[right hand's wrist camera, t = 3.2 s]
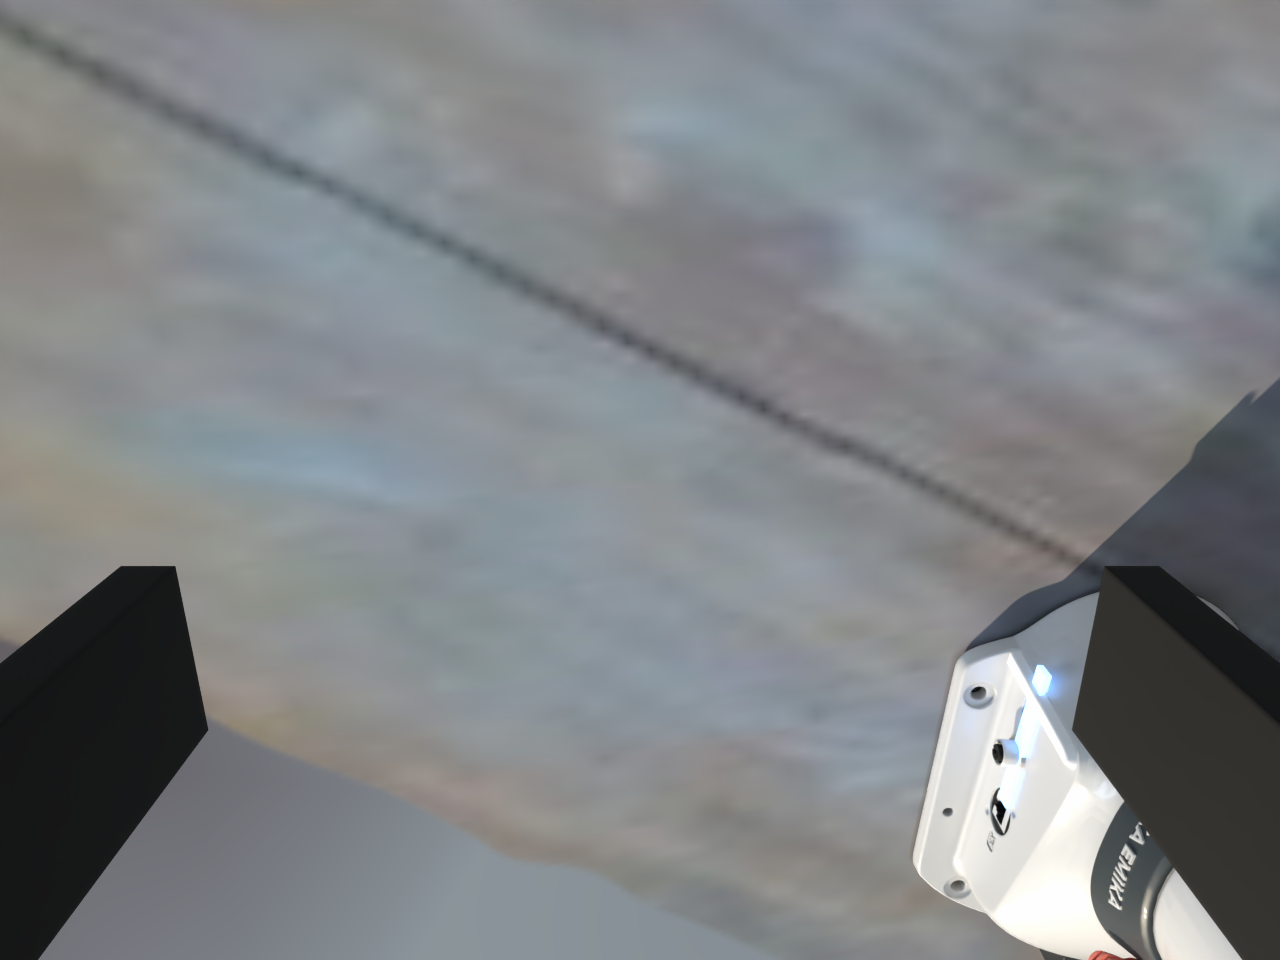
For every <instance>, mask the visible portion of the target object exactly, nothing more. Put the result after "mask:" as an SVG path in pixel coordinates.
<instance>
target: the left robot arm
mask: <svg viewBox="0 0 1280 960" xmlns="http://www.w3.org/2000/svg"><path fill="white" fill-rule="evenodd" d="M1195 596H1196V595H1195ZM1098 597H1099V592H1096V593H1093V594H1090V595H1087V596H1084V597H1082V598H1079V599H1077V600H1074V601H1072V602H1070V603H1068V604H1066V605H1064V606H1062V607H1060V608H1058V609H1056V610H1055V611H1053V612H1051V613H1050V614H1048V615H1047V616H1045V617H1044V618H1042V619H1041V620H1039V621H1038V622H1036V623H1035V624H1033V625H1032V626H1030V627H1029V628H1027V629H1026V630H1024V631H1022V632H1020V633H1018V634H1016V635H1014V636H1012V637H1008V638H1004V639H1000V640H996V641H993V642H989V643H986V644H983V645H979V646H977V647H974V648H972V649H970V650H968V651H967V652H965V653H964V654H963V655H961V657H960V658H959V659H958V661H957V663H956V665H955V669H954V673H953V677H952V682H951V686H950V691H949V695H948V700H947V704H946V709H945V713H944V717H943V722H942V726H941V731H940V735H939V740H938V744H937V749H936V753H935V758H934V762H933V767H932V771H931V775H930V780H929V784H928V789H927V793H926V798H925V802H924V807H923V811H922V816H921V820H920V825H919V829H918V834H917V838H916V843H915V847H914V852H913V863H914V865H915V867H916V869H917V871H918V873H919V874H920V876H921V877H922V878H923V879H924V880H925V881H926V882H927V883H928V884H929V885H930V886H932V887H933V888H934V889H935V890H937V891H938V892H940V893H941V894H943V895H944V896H946V897H948V898H950V899H952V900H954V901H955V902H958V903H960V904H962V905H965V906H967V907H970V908H972V909H975V910H978V911H981V912H984V913H987V914H988V916H989V917H990V918H991V919H992V920H993V921H994V922H995V923H996V924H997V925H999V926H1000V927H1001V928H1002V929H1004V930H1005V931H1006V932H1008V933H1009V934H1011V935H1012V936H1014V937H1016V938H1017V939H1019V940H1022V941H1024V942H1026V943H1028V944H1030V945H1032V946H1035V947H1038V948H1039V949H1040V951H1041V953H1042V955H1043V957H1044V959H1045V960H1242V959H1241V958H1240V956H1239V955H1238V954H1237V952H1236V951H1235V950H1234V948H1233V947H1232V945H1231V944H1230V943H1229V941H1228V940H1227V939H1226V937H1225V936H1224V935H1223V933H1222V932H1221V931H1220V929H1219V928H1218V927H1217V925H1216V924H1215V923H1214V921H1213V920H1212V919H1211V917H1210V916H1209V914H1208V913H1207V912H1206V910H1205V909H1204V908H1203V906H1202V905H1201V904H1200V902H1199V901H1198V900H1197V898H1196V897H1195V896H1194V894H1193V893H1192V892H1191V890H1190V889H1189V888H1188V886H1187V885H1186V883H1185V882H1184V881H1183V879H1182V878H1181V877H1180V875H1179V874H1178V873H1177V871H1176V870H1175V869H1174V867H1173V866H1172V865H1171V863H1170V862H1169V861H1168V859H1167V858H1166V856H1165V855H1164V854H1163V852H1162V851H1161V850H1160V848H1159V847H1158V846H1157V844H1156V843H1155V842H1154V840H1153V839H1152V838H1151V836H1150V835H1149V834H1148V832H1147V831H1146V830H1145V828H1144V827H1143V825H1142V824H1141V823H1140V821H1139V820H1138V819H1137V817H1136V816H1135V815H1134V813H1133V812H1132V811H1131V809H1130V808H1129V807H1128V805H1127V804H1126V803H1125V801H1124V800H1123V799H1122V797H1121V796H1120V794H1119V793H1118V792H1117V790H1116V789H1115V788H1114V786H1113V785H1112V784H1111V782H1110V781H1109V780H1108V778H1107V777H1106V776H1105V774H1104V773H1103V772H1102V770H1101V769H1100V768H1099V766H1098V765H1097V763H1096V762H1095V761H1094V759H1093V758H1092V757H1091V755H1090V754H1089V753H1088V751H1087V750H1086V749H1085V747H1084V746H1083V745H1082V743H1081V742H1080V741H1079V739H1078V738H1077V736H1076V735H1075V734H1074V732H1073V731H1072V726H1073V721H1074V716H1075V711H1076V706H1077V701H1078V696H1079V691H1080V686H1081V681H1082V676H1083V671H1084V667H1085V662H1086V657H1087V652H1088V647H1089V642H1090V637H1091V632H1092V627H1093V622H1094V617H1095V612H1096V607H1097V602H1098ZM1197 597H1198V596H1197ZM1198 598H1199V599H1200V600H1202V601H1203V602H1204V603H1205V604H1206V605H1208V606H1209V607H1210V608H1211V609H1213V610H1214V611H1215V612H1216V613H1218V614H1219V615H1220V616H1221V617H1223V618H1224V619H1225V620H1226V621H1228V622H1229V623H1230V624H1231V625H1233V626H1234V627H1235V628H1236V629H1238V628H1237V626H1236V625H1235V624H1234V623H1233V622H1232V620H1231V619H1230V618H1229V617H1228V616H1227V615H1226V614H1225V613H1223V612H1222V611H1221V610H1220V609H1219V608H1217V607H1216V606H1214V605H1213V604H1211V603H1210V602H1208V601H1206V600H1204V599H1202V598H1200V597H1198ZM1238 630H1239V629H1238ZM978 686H981V689H980V690H979V691H977V692H971V691H972V690H973V689H974V688H975V687H978ZM957 880H958V881H957ZM954 881H956V882H954Z"/></svg>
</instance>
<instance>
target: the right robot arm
mask: <svg viewBox="0 0 1280 960" xmlns="http://www.w3.org/2000/svg"><path fill="white" fill-rule="evenodd" d="M207 731H208V726H207V721H206V716H205V711H204V706H203V701H202V696H201V691H200V686H199V681H198V676H197V671H196V667H195V662H194V657H193V652H192V647H191V642H190V637H189V632H188V627H187V622H186V617H185V612H184V607H183V602H182V597H181V592H180V587H179V582H178V577H177V572H176V567H175V566H121V567H119V568H118V569H117V570H116V571H114V572H113V573H112V574H111V575H109V576H108V577H107V578H106V579H105V580H103V581H102V582H101V583H100V584H98V585H97V586H96V587H95V588H93V589H92V590H91V591H90V592H88V593H87V594H86V595H85V596H83V597H82V598H81V599H80V600H78V601H77V602H76V603H75V604H73V605H72V606H71V607H70V608H69V609H67V610H66V611H65V612H64V613H62V614H61V615H60V616H59V617H57V618H56V619H55V620H54V621H52V622H51V623H50V624H49V625H47V626H46V627H45V628H44V629H42V630H41V631H40V632H39V633H38V634H36V635H35V636H34V637H33V638H31V639H30V640H29V641H28V642H26V643H25V644H24V645H23V646H21V647H20V648H19V649H18V650H16V651H15V652H14V653H13V654H12V655H10V656H9V657H8V658H7V659H5V660H4V661H3V662H2V663H0V960H38V959H39V958H40V956H41V955H42V954H43V952H44V951H45V950H46V948H47V947H48V945H49V944H50V943H51V941H52V940H53V939H54V937H55V936H56V935H57V933H58V932H59V931H60V929H61V928H62V927H63V925H64V924H65V923H66V921H67V920H68V919H69V917H70V916H71V914H72V913H73V912H74V910H75V909H76V908H77V906H78V905H79V904H80V902H81V901H82V900H83V898H84V897H85V896H86V894H87V893H88V892H89V890H90V889H91V888H92V886H93V885H94V883H95V882H96V881H97V879H98V878H99V877H100V875H101V874H102V873H103V871H104V870H105V869H106V867H107V866H108V865H109V863H110V862H111V861H112V859H113V858H114V856H115V855H116V854H117V852H118V851H119V850H120V848H121V847H122V846H123V844H124V843H125V842H126V840H127V839H128V838H129V836H130V835H131V834H132V832H133V831H134V829H135V828H136V827H137V825H138V824H139V823H140V821H141V820H142V819H143V817H144V816H145V815H146V813H147V812H148V811H149V809H150V808H151V807H152V805H153V804H154V802H155V801H156V800H157V799H158V797H159V796H160V794H161V793H162V792H163V790H164V789H165V788H166V786H167V785H168V784H169V782H170V781H171V780H172V778H173V777H174V776H175V774H176V773H177V771H178V770H179V769H180V767H181V766H182V765H183V763H184V762H185V761H186V759H187V758H188V757H189V755H190V754H191V753H192V751H193V750H194V749H195V747H196V746H197V745H198V743H199V742H200V741H201V739H202V738H203V736H204V735H205V734H206V732H207ZM1072 731H1073V732H1074V734H1075V735H1076V736H1077V738H1078V739H1079V741H1080V742H1081V743H1082V745H1083V746H1084V747H1085V749H1086V750H1087V751H1088V753H1089V754H1090V755H1091V757H1092V758H1093V759H1094V761H1095V762H1096V763H1097V765H1098V766H1099V768H1100V769H1101V770H1102V772H1103V773H1104V774H1105V776H1106V777H1107V778H1108V780H1109V781H1110V782H1111V784H1112V785H1113V786H1114V788H1115V789H1116V790H1117V792H1118V793H1119V794H1120V796H1121V797H1122V799H1123V800H1124V801H1125V803H1126V804H1127V805H1128V807H1129V808H1130V809H1131V811H1132V812H1133V813H1134V815H1135V816H1136V817H1137V819H1138V820H1139V821H1140V823H1141V824H1142V825H1143V827H1144V828H1145V830H1146V831H1147V832H1148V834H1149V835H1150V836H1151V838H1152V839H1153V840H1154V842H1155V843H1156V844H1157V846H1158V847H1159V848H1160V850H1161V851H1162V852H1163V854H1164V855H1165V856H1166V858H1167V859H1168V861H1169V862H1170V863H1171V865H1172V866H1173V867H1174V869H1175V870H1176V871H1177V873H1178V874H1179V875H1180V877H1181V878H1182V879H1183V881H1184V882H1185V883H1186V885H1187V886H1188V888H1189V889H1190V890H1191V892H1192V893H1193V894H1194V896H1195V897H1196V898H1197V900H1198V901H1199V902H1200V904H1201V905H1202V906H1203V908H1204V909H1205V910H1206V912H1207V913H1208V914H1209V916H1210V917H1211V919H1212V920H1213V921H1214V923H1215V924H1216V925H1217V927H1218V928H1219V929H1220V931H1221V932H1222V933H1223V935H1224V936H1225V937H1226V939H1227V940H1228V941H1229V943H1230V944H1231V945H1232V947H1233V948H1234V950H1235V951H1236V952H1237V954H1238V955H1239V956H1240V958H1241V959H1242V960H1280V663H1278V662H1277V661H1276V660H1275V659H1273V658H1272V657H1271V656H1270V655H1269V654H1267V653H1266V652H1265V651H1264V650H1262V649H1261V648H1260V647H1259V646H1257V645H1256V644H1255V643H1254V642H1252V641H1251V640H1250V639H1249V638H1247V637H1246V636H1245V635H1244V634H1242V633H1241V632H1240V631H1239V630H1238V629H1236V628H1235V627H1234V626H1233V625H1231V624H1230V623H1229V622H1228V621H1226V620H1225V619H1224V618H1223V617H1221V616H1220V615H1219V614H1218V613H1216V612H1215V611H1214V610H1213V609H1211V608H1210V607H1209V606H1208V605H1206V604H1205V603H1204V602H1203V601H1202V600H1200V599H1199V598H1198V597H1197V596H1195V595H1194V594H1193V593H1192V592H1190V591H1189V590H1188V589H1187V588H1185V587H1184V586H1183V585H1182V584H1180V583H1179V582H1178V581H1177V580H1175V579H1174V578H1173V577H1172V576H1171V575H1169V574H1168V573H1167V572H1166V571H1164V570H1163V569H1162V568H1161V567H1159V566H1105V567H1104V572H1103V577H1102V582H1101V587H1100V592H1099V597H1098V602H1097V607H1096V612H1095V617H1094V622H1093V627H1092V632H1091V637H1090V642H1089V647H1088V652H1087V657H1086V662H1085V667H1084V671H1083V676H1082V681H1081V686H1080V691H1079V696H1078V701H1077V706H1076V711H1075V716H1074V721H1073V726H1072Z"/></svg>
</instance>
